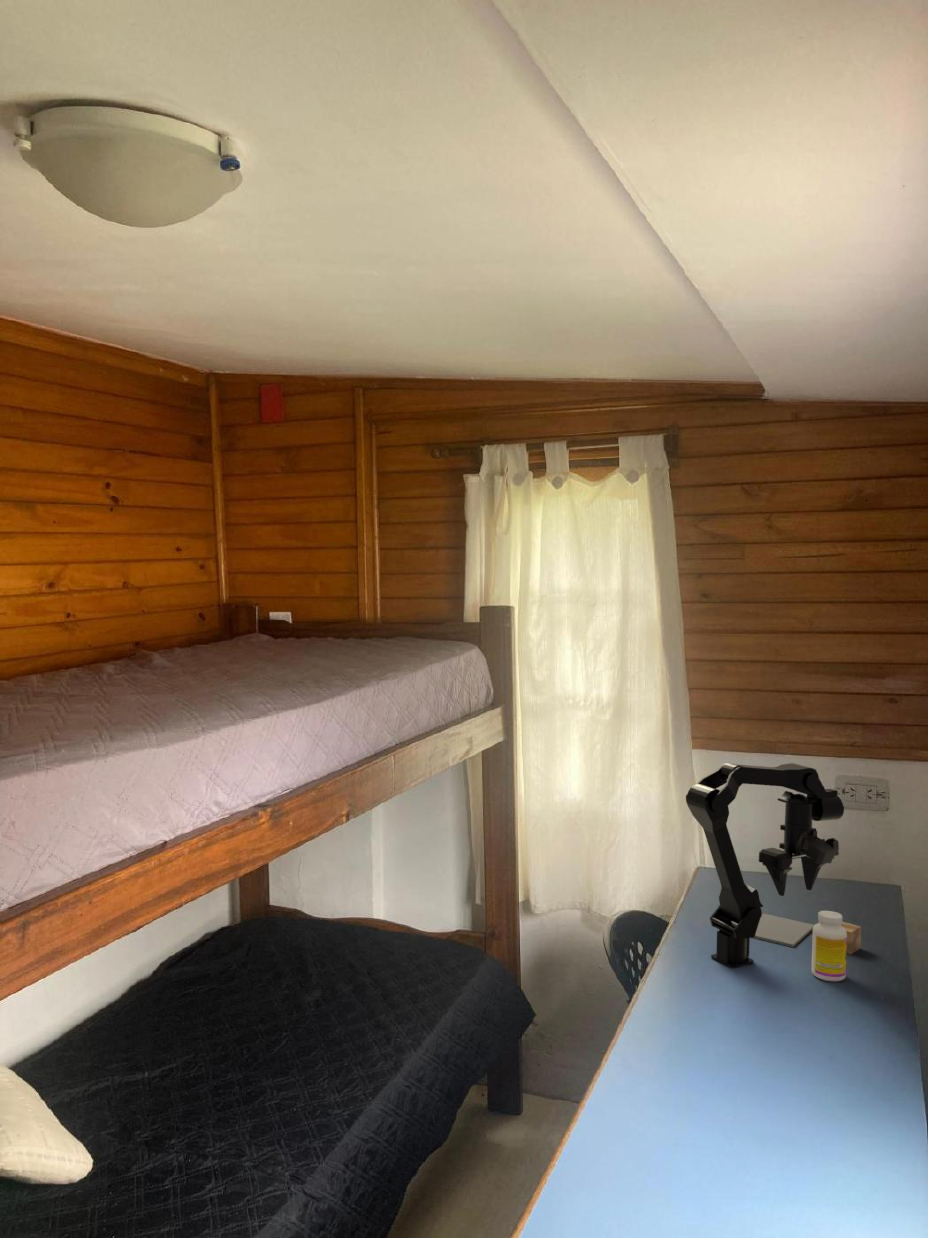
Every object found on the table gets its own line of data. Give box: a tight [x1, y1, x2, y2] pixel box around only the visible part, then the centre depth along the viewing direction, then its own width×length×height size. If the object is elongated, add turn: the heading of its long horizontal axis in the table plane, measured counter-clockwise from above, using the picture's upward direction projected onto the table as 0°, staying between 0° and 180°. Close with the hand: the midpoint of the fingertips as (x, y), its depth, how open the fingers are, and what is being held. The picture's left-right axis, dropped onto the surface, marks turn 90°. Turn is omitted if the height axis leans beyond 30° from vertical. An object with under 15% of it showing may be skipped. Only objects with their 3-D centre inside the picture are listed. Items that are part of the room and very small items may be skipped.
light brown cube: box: [841, 921, 862, 955], centre depth 210 cm, size 5×5×5 cm
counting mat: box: [732, 912, 815, 948], centre depth 221 cm, size 16×16×1 cm
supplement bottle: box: [811, 910, 847, 982], centre depth 194 cm, size 7×7×13 cm
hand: (795, 892), depth 208 cm, fingers open, 9 cm apart
